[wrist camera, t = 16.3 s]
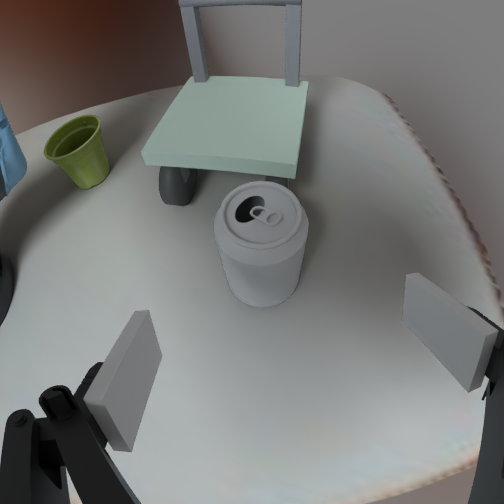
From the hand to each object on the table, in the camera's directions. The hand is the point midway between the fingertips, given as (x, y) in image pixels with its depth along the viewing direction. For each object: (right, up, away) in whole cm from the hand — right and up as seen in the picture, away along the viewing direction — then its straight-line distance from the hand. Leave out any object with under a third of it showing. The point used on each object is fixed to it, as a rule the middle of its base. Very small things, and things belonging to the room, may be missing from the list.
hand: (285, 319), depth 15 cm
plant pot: (-26, +15, +28) cm, 42 cm away
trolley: (-3, +14, +26) cm, 30 cm away
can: (0, 0, +19) cm, 19 cm away
